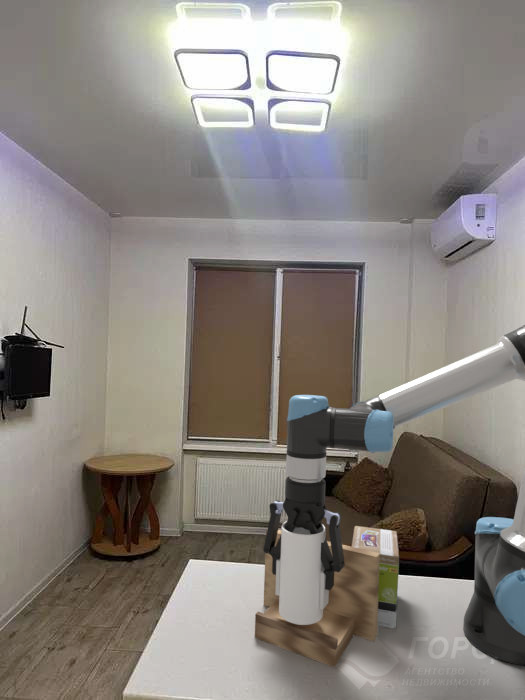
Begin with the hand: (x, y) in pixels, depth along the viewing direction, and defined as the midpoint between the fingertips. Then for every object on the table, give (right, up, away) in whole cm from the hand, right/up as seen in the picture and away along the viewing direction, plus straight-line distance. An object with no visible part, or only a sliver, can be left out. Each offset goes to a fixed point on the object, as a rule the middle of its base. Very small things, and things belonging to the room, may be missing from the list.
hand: (301, 598), depth 86 cm
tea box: (+17, -9, +14) cm, 23 cm away
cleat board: (+1, -8, +3) cm, 9 cm away
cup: (0, -3, 0) cm, 3 cm away
